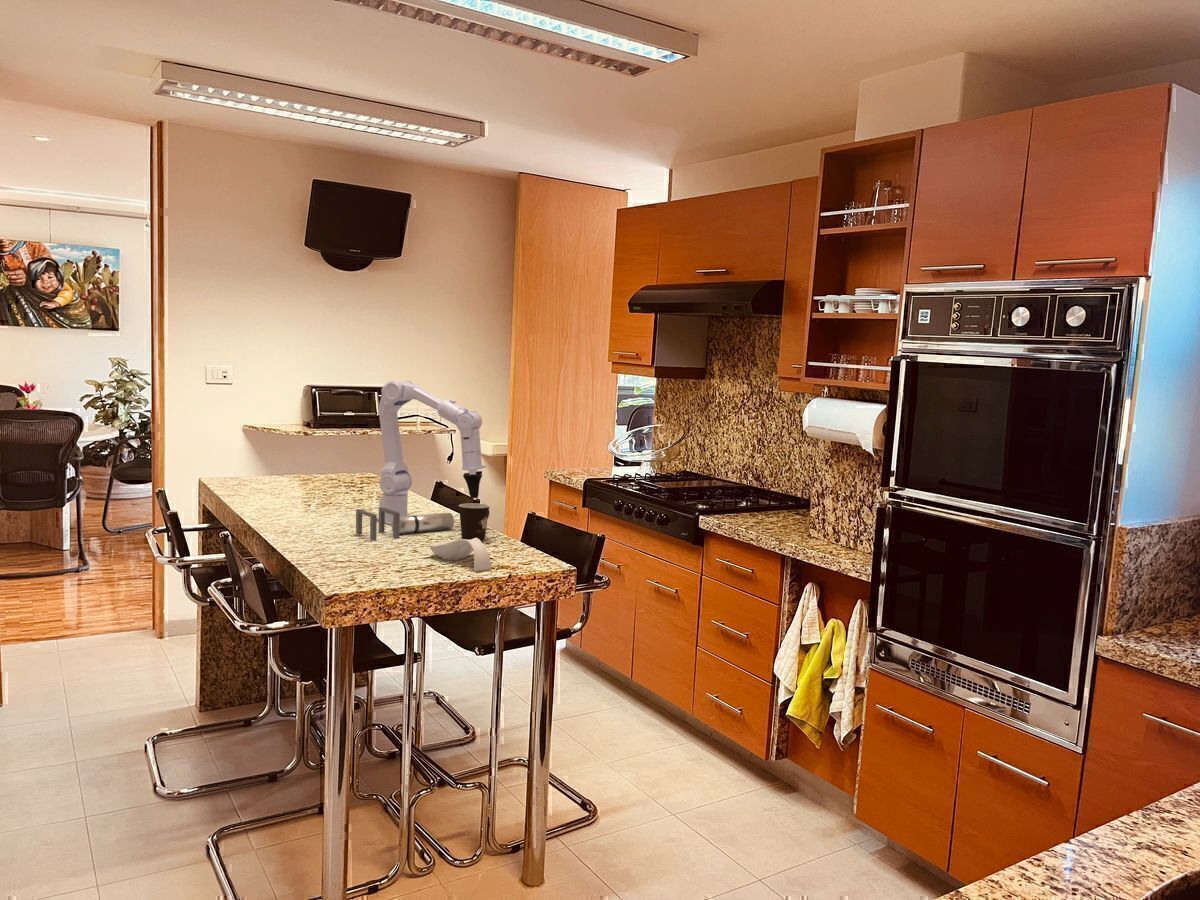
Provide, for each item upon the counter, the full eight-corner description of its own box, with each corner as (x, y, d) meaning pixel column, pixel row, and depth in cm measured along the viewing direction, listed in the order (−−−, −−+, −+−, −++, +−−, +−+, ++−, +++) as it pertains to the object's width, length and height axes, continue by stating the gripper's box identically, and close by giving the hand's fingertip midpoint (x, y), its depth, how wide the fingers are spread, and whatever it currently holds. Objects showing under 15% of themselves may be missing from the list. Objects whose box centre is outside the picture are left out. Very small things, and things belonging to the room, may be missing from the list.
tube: (399, 535, 259) (399, 518, 259) (391, 532, 263) (391, 515, 263) (453, 530, 271) (454, 514, 270) (445, 527, 274) (445, 511, 274)
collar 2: (378, 532, 264) (378, 507, 263) (382, 531, 264) (382, 507, 264) (395, 538, 255) (395, 513, 255) (399, 538, 256) (399, 512, 255)
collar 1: (355, 534, 259) (356, 509, 259) (359, 533, 260) (360, 508, 259) (372, 540, 251) (372, 515, 250) (376, 540, 252) (376, 514, 251)
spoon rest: (421, 555, 236) (422, 528, 235) (462, 551, 243) (462, 525, 242) (462, 574, 217) (463, 545, 216) (505, 569, 223) (506, 541, 223)
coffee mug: (468, 544, 251) (469, 509, 250) (452, 539, 258) (453, 504, 257) (503, 540, 258) (504, 506, 257) (486, 535, 265) (487, 501, 264)
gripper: (484, 452, 264) (488, 498, 265) (484, 449, 278) (487, 493, 279) (460, 453, 263) (463, 499, 264) (461, 451, 277) (464, 494, 278)
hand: (474, 496), depth 271 cm, fingers open, 7 cm apart
